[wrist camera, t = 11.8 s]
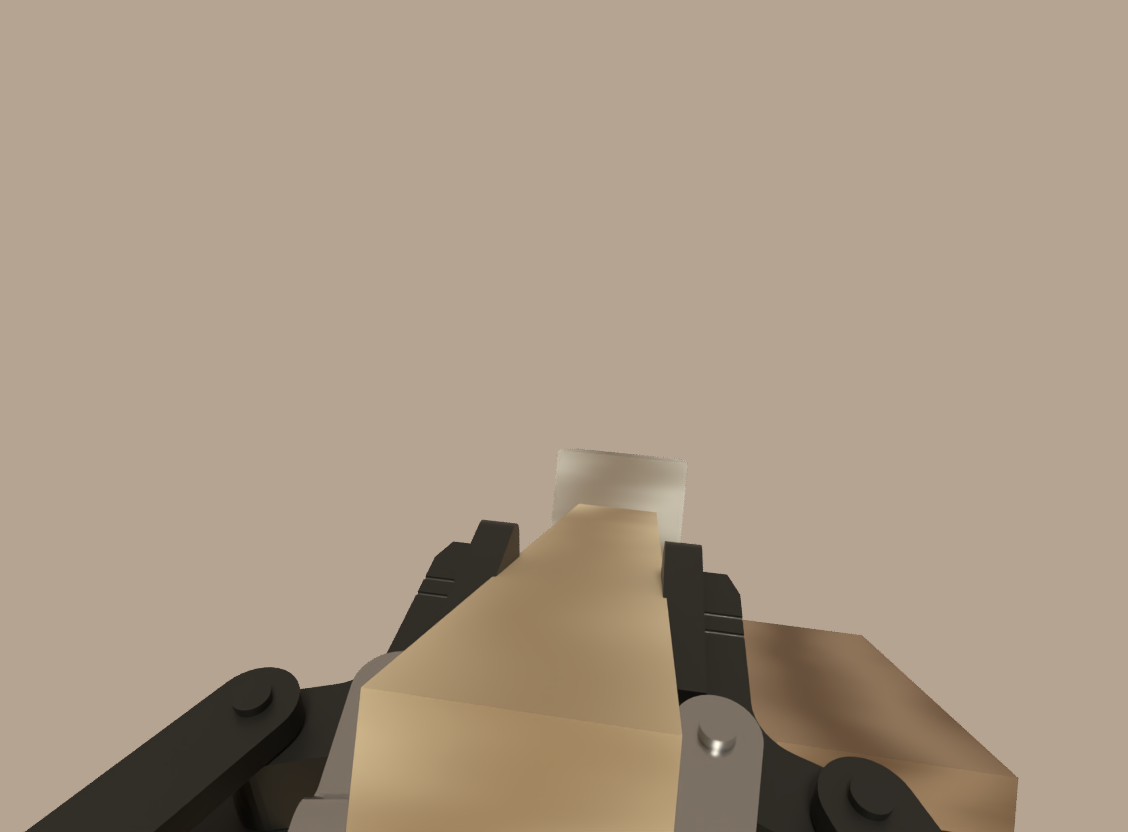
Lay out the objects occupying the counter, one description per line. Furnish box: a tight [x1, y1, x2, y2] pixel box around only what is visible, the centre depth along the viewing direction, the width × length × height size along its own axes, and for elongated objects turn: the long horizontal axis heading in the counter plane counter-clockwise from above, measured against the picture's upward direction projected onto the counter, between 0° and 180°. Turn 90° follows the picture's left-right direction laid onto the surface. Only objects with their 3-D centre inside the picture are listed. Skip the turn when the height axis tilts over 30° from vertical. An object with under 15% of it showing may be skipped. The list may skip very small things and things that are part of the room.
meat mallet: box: [346, 449, 688, 832], centre depth 20 cm, size 5×27×5 cm, turn 173°
